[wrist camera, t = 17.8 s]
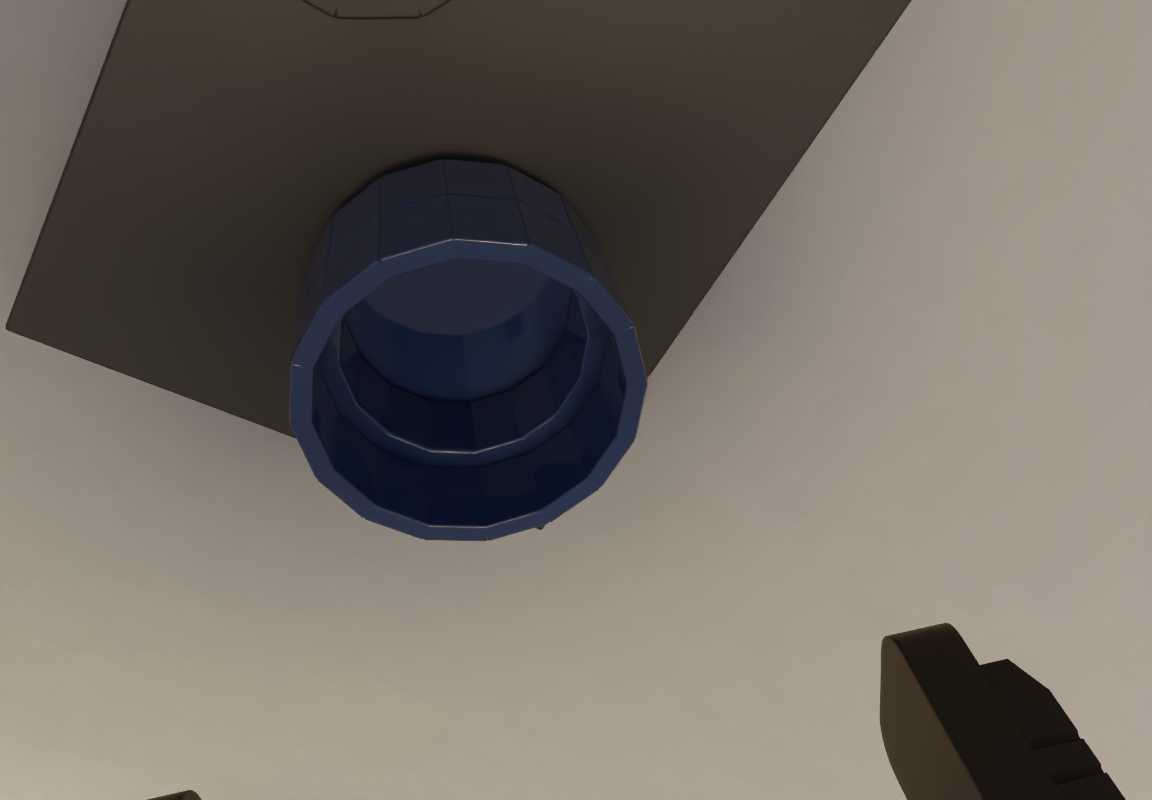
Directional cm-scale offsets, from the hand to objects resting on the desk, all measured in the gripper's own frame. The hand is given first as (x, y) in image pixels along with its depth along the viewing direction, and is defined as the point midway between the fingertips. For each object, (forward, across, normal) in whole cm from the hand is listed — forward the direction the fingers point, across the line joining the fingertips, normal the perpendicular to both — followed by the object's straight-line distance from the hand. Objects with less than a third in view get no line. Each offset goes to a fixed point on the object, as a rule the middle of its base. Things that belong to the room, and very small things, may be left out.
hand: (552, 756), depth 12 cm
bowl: (+12, 0, 0) cm, 12 cm away
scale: (+14, 0, -3) cm, 14 cm away
